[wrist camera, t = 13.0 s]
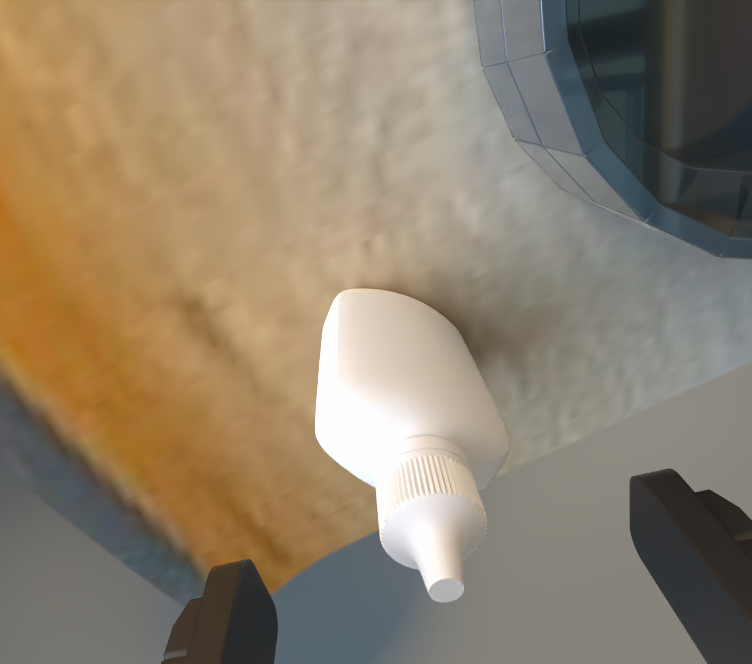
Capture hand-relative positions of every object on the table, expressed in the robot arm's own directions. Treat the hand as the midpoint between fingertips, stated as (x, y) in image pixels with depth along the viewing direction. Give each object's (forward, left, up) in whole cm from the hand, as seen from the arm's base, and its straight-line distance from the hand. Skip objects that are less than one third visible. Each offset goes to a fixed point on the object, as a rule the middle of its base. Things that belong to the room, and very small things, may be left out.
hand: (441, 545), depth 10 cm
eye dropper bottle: (0, 0, -11) cm, 11 cm away
